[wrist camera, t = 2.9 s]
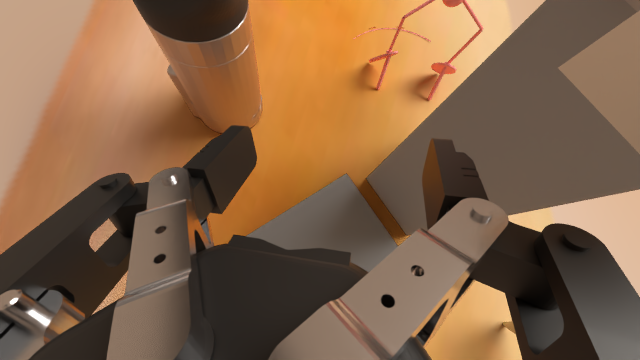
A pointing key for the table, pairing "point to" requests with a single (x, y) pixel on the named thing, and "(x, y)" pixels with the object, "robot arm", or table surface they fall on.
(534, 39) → the pedestal
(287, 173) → the table surface
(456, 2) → the figurine
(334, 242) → the mat
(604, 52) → the slat
